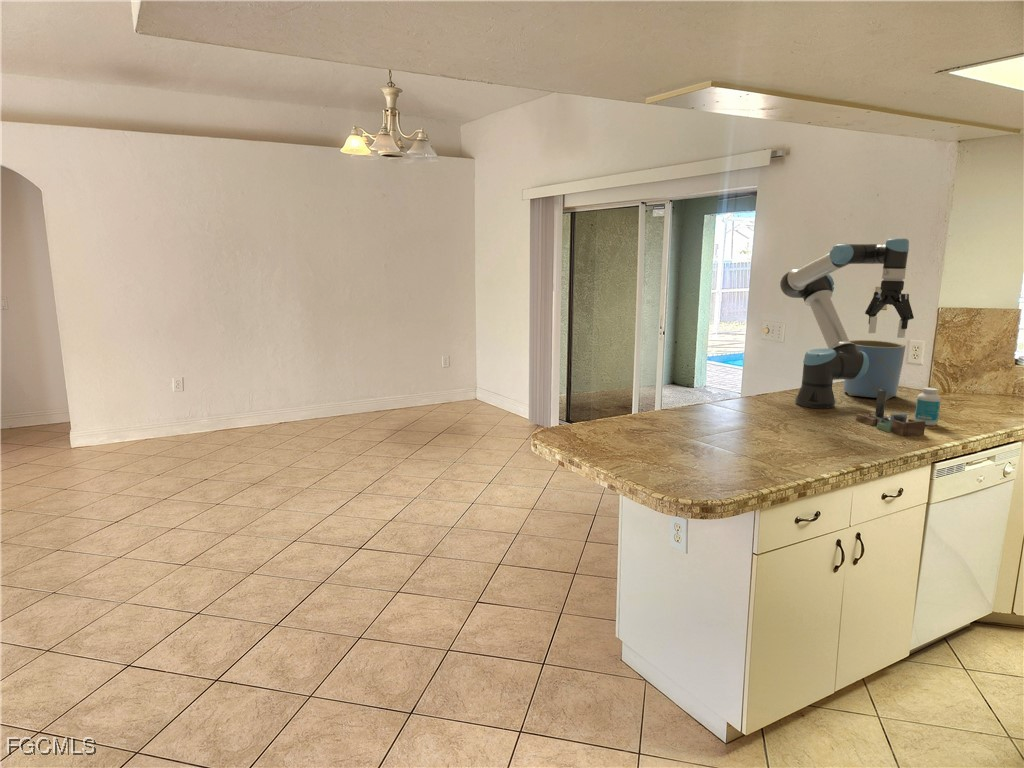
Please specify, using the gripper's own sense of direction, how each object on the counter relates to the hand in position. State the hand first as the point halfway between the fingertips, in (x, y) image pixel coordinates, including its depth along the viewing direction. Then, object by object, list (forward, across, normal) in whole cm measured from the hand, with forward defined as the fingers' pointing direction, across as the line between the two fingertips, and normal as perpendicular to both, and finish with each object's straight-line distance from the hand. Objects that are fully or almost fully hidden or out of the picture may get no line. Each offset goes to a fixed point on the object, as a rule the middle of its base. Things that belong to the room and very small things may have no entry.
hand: (885, 335), depth 242 cm
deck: (+32, +19, -11) cm, 39 cm away
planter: (+32, -29, +25) cm, 50 cm away
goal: (+32, +25, -11) cm, 42 cm away
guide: (+32, +9, -11) cm, 35 cm away
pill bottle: (+32, +16, +7) cm, 36 cm away
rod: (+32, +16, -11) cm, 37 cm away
